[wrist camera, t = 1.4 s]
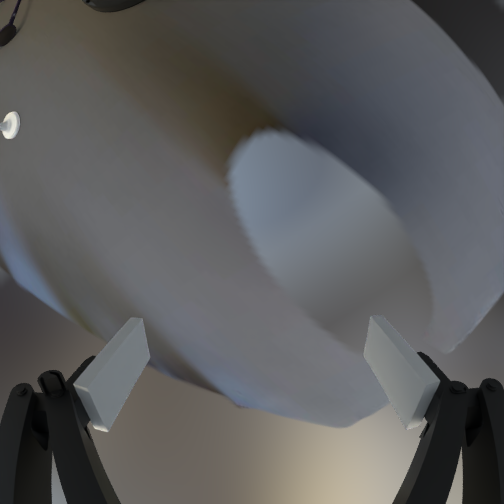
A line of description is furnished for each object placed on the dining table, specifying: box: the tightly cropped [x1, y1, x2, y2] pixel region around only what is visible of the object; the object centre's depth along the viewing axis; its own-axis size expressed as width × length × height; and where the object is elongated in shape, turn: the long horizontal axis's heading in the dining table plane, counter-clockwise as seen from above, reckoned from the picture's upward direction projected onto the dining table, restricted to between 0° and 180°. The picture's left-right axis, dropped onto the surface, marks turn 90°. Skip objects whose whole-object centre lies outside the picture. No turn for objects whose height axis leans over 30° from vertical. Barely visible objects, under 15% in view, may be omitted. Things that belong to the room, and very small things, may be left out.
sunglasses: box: [0, 0, 21, 46], centre depth 16 cm, size 14×16×5 cm
